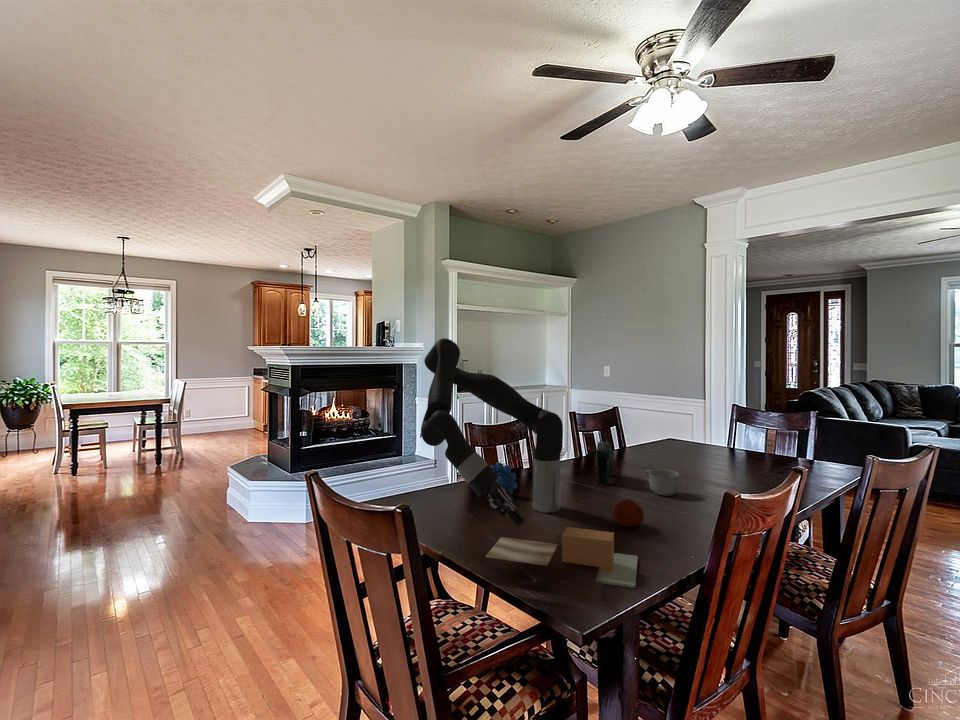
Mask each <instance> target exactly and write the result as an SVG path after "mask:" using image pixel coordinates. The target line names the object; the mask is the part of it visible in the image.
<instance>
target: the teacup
mask: <svg viewBox="0 0 960 720" xmlns="http://www.w3.org/2000/svg"><path fill="white" fill-rule="evenodd" d="M643 476H644V478H645V479H646V481H647V482H648V483H649V488H650V490H651V491H652V492H654V493H655V494H656V495H659V496H661V495H663V496H664V497H670V496H674V495H675V494H676V493H678V491H679V489H680V477H681V476H680V473H679V472H677V471H674V470H671V469H661V468H660V469H653V470H652V469H646V470H645V471H644V475H643ZM663 496H662V497H663Z"/></svg>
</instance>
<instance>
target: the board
mask: <svg viewBox="0 0 960 720" xmlns="http://www.w3.org/2000/svg"><path fill="white" fill-rule="evenodd" d="M558 545H559V544H557V543H551V542H542V541H535V540H527V539H521V538H513V537H506V536H505V537H503V536H501V537H500V538H499V539H498V540H497V541H496V543H495V544H494V545H493V546H492V547H491V549H490V550H489V551H488V552H487V554H485V558H488V559H489V558H491V559H497V560H503V561H511V562H518V563H524V564H531V565H538V566H546V567H548V565H549V563H550V561H551V560H552V558H553V555H554V553H555V552H556V548H557V547H558Z"/></svg>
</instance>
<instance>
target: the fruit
mask: <svg viewBox="0 0 960 720" xmlns="http://www.w3.org/2000/svg"><path fill="white" fill-rule="evenodd" d="M612 513H613V514H612V515H613V519H614V520H615V521H616V522H617V523H618V525H621V526H622V527H626V528H635V527H638V526H641V524H642V523H643V522H644V520H645V519H644V518H645V515H644V509H643V508H642V507H641V505H640V504H638V503H636V502H635V501H633V500H632V499H623V500H621V501H619V502H618V503H616V504H615V506H614V508H613V512H612Z"/></svg>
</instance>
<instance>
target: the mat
mask: <svg viewBox="0 0 960 720" xmlns="http://www.w3.org/2000/svg"><path fill="white" fill-rule="evenodd" d="M638 560H639V559H638V555H633V554H625V553H618V552H614V564H613V569H612V572H606V571H599V569H598V570H597V574H596V578H595V583H598V584H599V583H600V584H604V585H610V586H611V585H613V586H618V587H619V586H620V587H625V588H631V589H636V584H637V583H636V580H637V571H638Z"/></svg>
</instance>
